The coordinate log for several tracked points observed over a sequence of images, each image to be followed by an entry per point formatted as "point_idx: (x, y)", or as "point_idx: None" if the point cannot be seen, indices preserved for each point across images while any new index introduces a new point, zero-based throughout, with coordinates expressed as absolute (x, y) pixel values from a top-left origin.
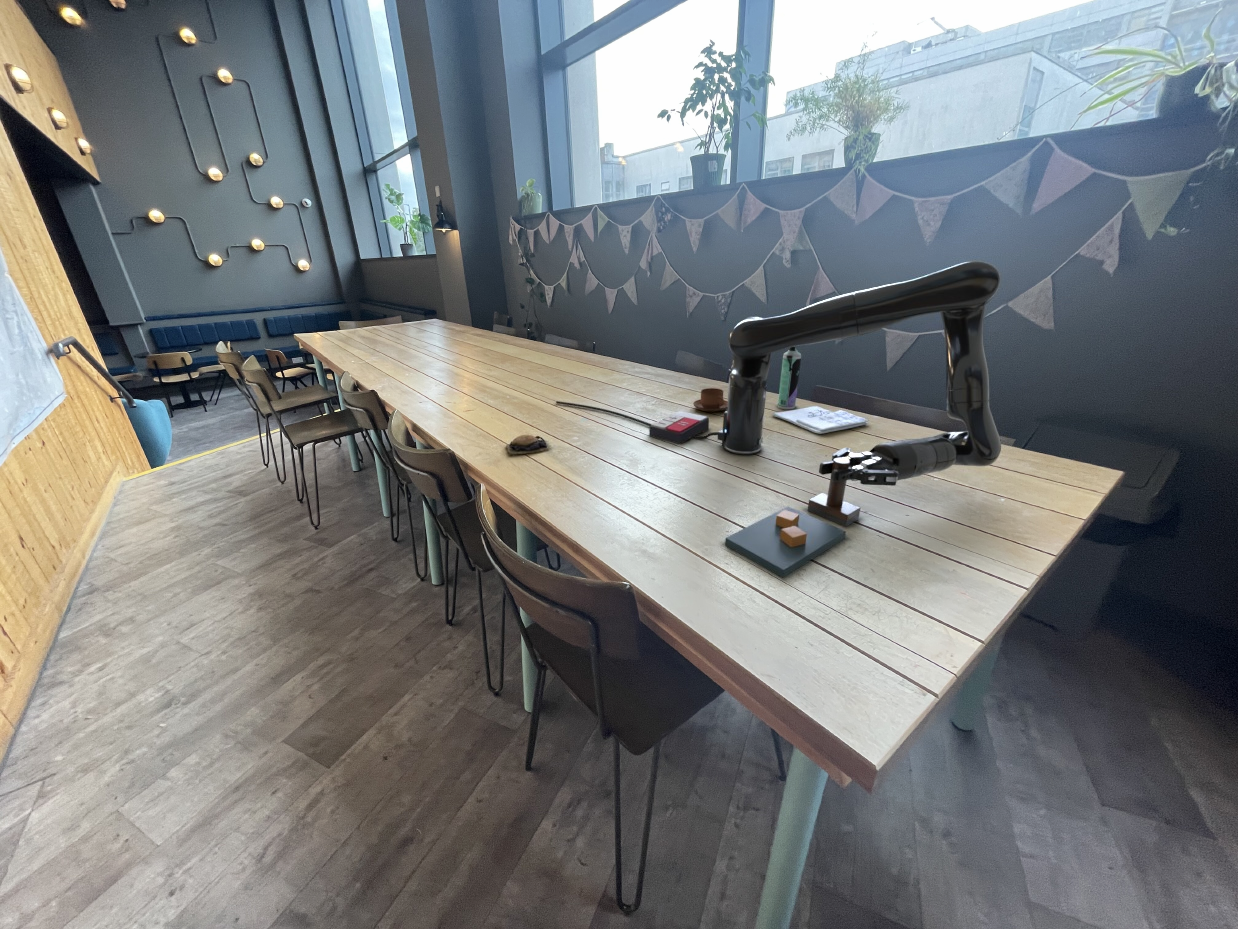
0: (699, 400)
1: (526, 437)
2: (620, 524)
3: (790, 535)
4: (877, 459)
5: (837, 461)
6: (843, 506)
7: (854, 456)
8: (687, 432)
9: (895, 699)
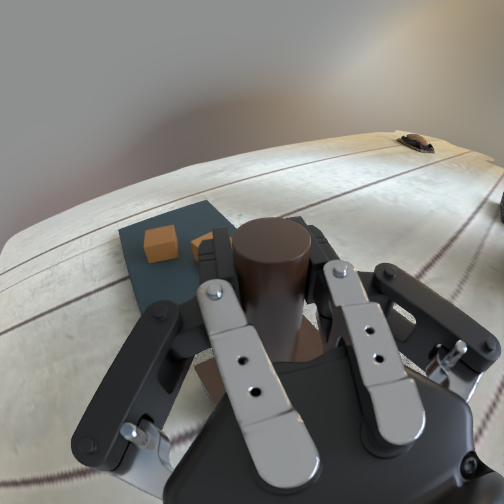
0: None
1: (416, 135)
2: (273, 163)
3: (151, 229)
4: (253, 434)
5: (262, 223)
6: None
7: (350, 321)
8: None
9: (5, 260)
